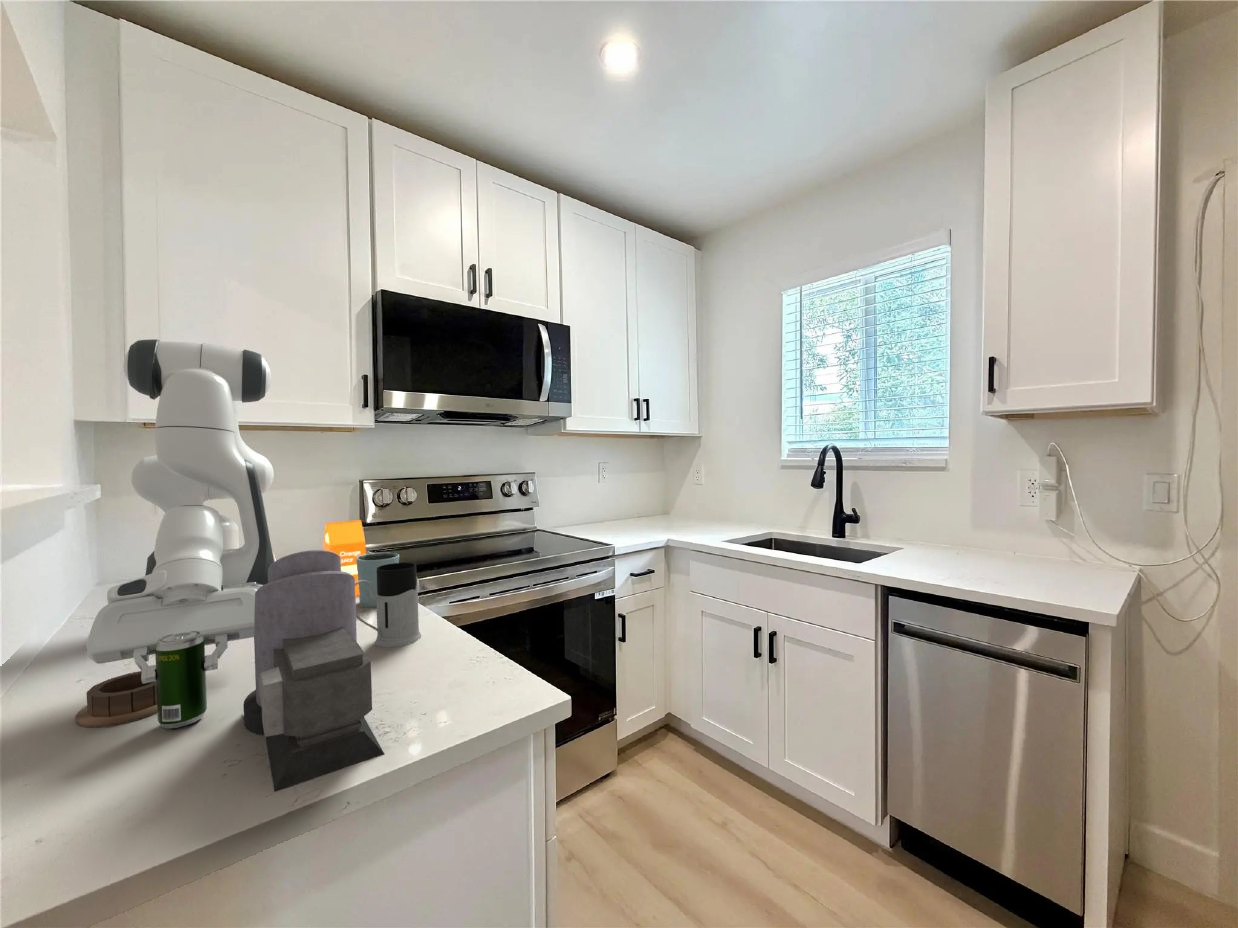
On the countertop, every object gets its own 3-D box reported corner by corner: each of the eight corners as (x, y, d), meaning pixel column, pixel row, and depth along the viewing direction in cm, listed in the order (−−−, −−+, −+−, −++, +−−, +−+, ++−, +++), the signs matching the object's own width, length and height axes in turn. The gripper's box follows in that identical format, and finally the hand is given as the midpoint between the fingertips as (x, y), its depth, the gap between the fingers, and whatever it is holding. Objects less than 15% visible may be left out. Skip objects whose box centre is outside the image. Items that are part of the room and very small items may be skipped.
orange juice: (367, 594, 142) (365, 521, 141) (330, 600, 136) (328, 524, 136) (359, 588, 148) (357, 518, 147) (324, 594, 142) (322, 521, 142)
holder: (430, 636, 108) (428, 564, 108) (364, 659, 97) (361, 579, 96) (405, 628, 113) (403, 560, 113) (339, 650, 102) (337, 573, 101)
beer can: (198, 724, 73) (195, 640, 73) (150, 732, 71) (147, 645, 71) (212, 707, 78) (210, 627, 78) (168, 714, 76) (165, 632, 76)
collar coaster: (65, 713, 78) (64, 688, 78) (166, 682, 88) (166, 660, 88) (90, 735, 71) (89, 708, 71) (196, 699, 82) (196, 675, 82)
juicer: (241, 700, 81) (236, 544, 81) (354, 672, 91) (350, 533, 91) (251, 801, 58) (243, 581, 57) (402, 748, 67) (397, 560, 67)
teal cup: (370, 596, 140) (369, 552, 139) (407, 596, 139) (406, 551, 139) (348, 608, 129) (347, 560, 129) (388, 608, 129) (387, 559, 129)
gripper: (267, 590, 89) (269, 666, 82) (102, 612, 78) (86, 703, 70) (266, 570, 86) (268, 647, 78) (92, 590, 74) (75, 683, 66)
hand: (180, 674), depth 74 cm, fingers closed on beer can, 5 cm apart
